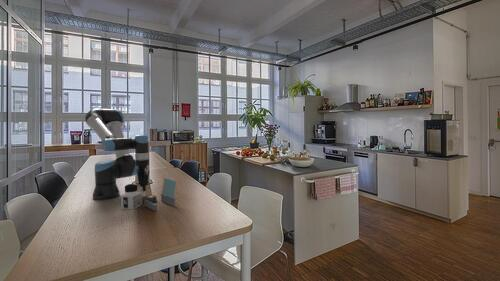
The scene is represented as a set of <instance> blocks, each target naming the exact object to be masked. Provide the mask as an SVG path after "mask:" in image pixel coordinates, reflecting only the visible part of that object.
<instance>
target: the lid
mask: <svg viewBox="0 0 500 281" xmlns="http://www.w3.org/2000/svg"><path fill="white" fill-rule="evenodd" d="M176 185H177V180H174V179H171V178H168V177H164V178H163V185H162V193H161V194H162V195H163V196H165V197H168V198H170V199H173V198H175V193H176V187H177V186H176ZM162 195H161V196H162Z"/></svg>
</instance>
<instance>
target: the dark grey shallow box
mask: <svg viewBox="0 0 500 281" xmlns="http://www.w3.org/2000/svg"><path fill="white" fill-rule="evenodd" d="M160 197H161V198H160V199H161V202H162V203H165V204H168V205H170V206H172V207H175V206H176V199H175V197H174V198H173V199H170V198H168V197H165V196H163V195H162V193H161V194H160ZM143 206H144V207H147V208H149V209H150V210H152V211H154V212H158V205H157V204H156V203H155V202H154V203H152V202H150V201H148V200H146V199H145V200H144V199H143Z"/></svg>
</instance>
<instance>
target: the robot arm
mask: <svg viewBox="0 0 500 281" xmlns="http://www.w3.org/2000/svg"><path fill="white" fill-rule="evenodd" d="M84 121H85V123H86V124H87V126H88V127H90V128H92V130H93V131H94V132H95V133H96V135H97V136H98V138H99V140H101V148H102V150H103V151H104V152H114V154H115V159H103V160H100V161H98V162H97V163H95V164H94V170H93V171H94V178H95V180H94V181H95V182H94V184H95V186H94V189H93V192H92V199H93V200H99V201H102V200H110V199H115V198H117V197H119V196H121V195H120V194H121V193H120V190H119V187H118V185H117V179H124V178H131V177H134V176H137V181H138V184H139V187H140V192H141V197H146V196H147V186H148V185H149V184H148V183H149V176H150V171H148V168H147V167H148V166H149V165H150V163H149V162H150V161H149V160H150V159H149V158H150V155H149V153H150V152H149V136H148V135H146V134H136V135H134V136H135V137H133V136H132V137H125V135H124V132H123V130H122V126H123V124H124V121H125V120H124V114H123V112H122V111H121V110H120V109H115V108H97V107H96V108H92V109H91V110H89V111H88V112H87V113H86V115H85V117H84ZM130 150H135V155H134V156H135V158H134V156H133V155H132V154H130V152H129V151H130Z"/></svg>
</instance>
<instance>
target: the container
mask: <svg viewBox="0 0 500 281" xmlns="http://www.w3.org/2000/svg"><path fill="white" fill-rule="evenodd" d="M142 197H143V196H141V191H139V190H138V184H136V183H128V184H126V185H125V186H124V193H123V194H121V195H120V201H121V202H120V204H121V207H120V208H121V209H122V210H123V209H125V210H134V209H137V208H138V207H141V206H142V204H143V203H142V202H143V201H142V199H143V198H142Z"/></svg>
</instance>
